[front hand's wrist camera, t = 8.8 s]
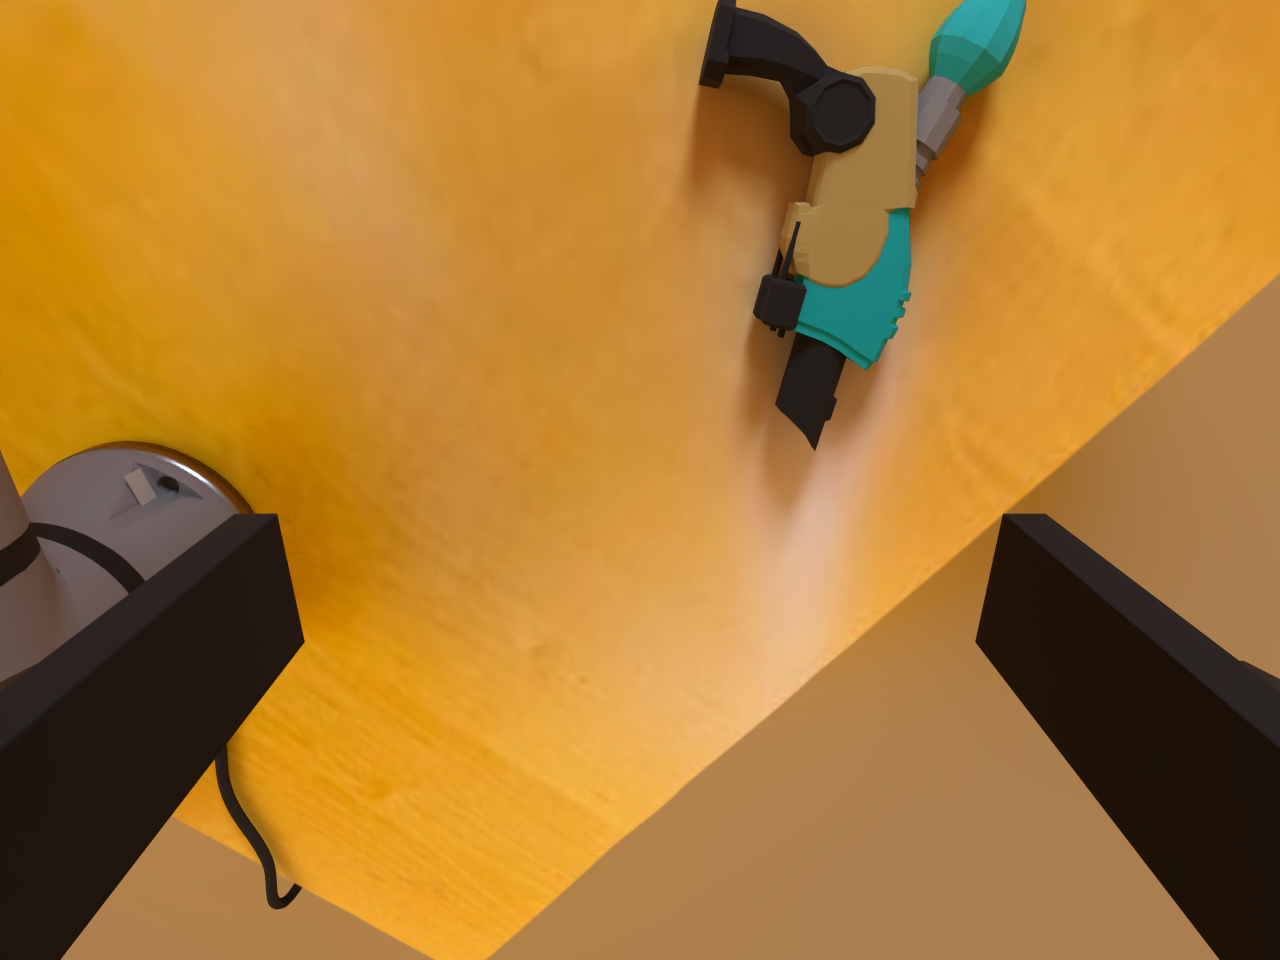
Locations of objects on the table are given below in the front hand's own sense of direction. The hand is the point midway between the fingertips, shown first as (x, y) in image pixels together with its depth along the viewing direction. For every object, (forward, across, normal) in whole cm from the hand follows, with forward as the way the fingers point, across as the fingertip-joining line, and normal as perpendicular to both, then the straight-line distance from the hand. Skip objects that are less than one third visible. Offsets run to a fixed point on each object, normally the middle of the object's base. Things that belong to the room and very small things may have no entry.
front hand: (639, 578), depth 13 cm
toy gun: (+31, -9, -6) cm, 33 cm away
